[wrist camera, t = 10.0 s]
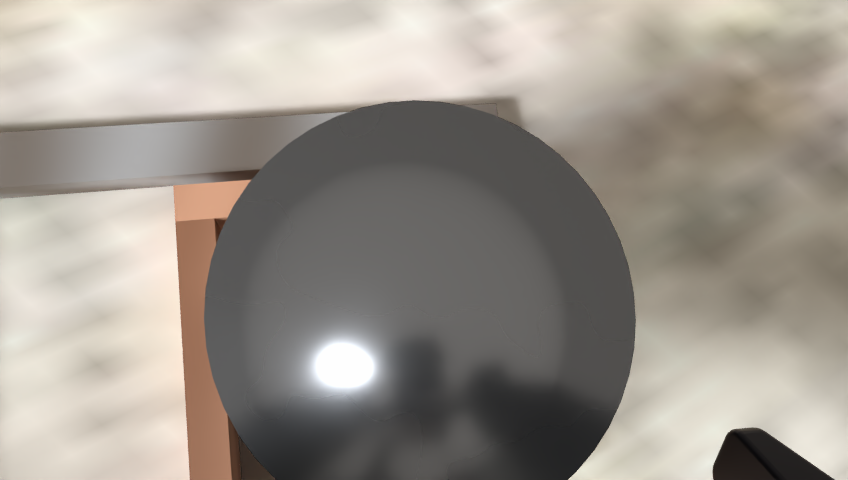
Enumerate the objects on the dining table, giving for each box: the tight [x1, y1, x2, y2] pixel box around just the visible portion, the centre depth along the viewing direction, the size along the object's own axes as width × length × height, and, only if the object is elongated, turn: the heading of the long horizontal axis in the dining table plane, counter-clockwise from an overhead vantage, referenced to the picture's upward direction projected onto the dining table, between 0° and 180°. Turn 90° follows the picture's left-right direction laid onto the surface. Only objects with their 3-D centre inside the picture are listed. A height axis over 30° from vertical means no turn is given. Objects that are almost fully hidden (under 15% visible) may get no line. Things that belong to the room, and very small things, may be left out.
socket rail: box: [0, 103, 498, 480], centre depth 18 cm, size 27×12×2 cm, turn 97°
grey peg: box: [204, 101, 636, 480], centre depth 14 cm, size 5×5×12 cm
